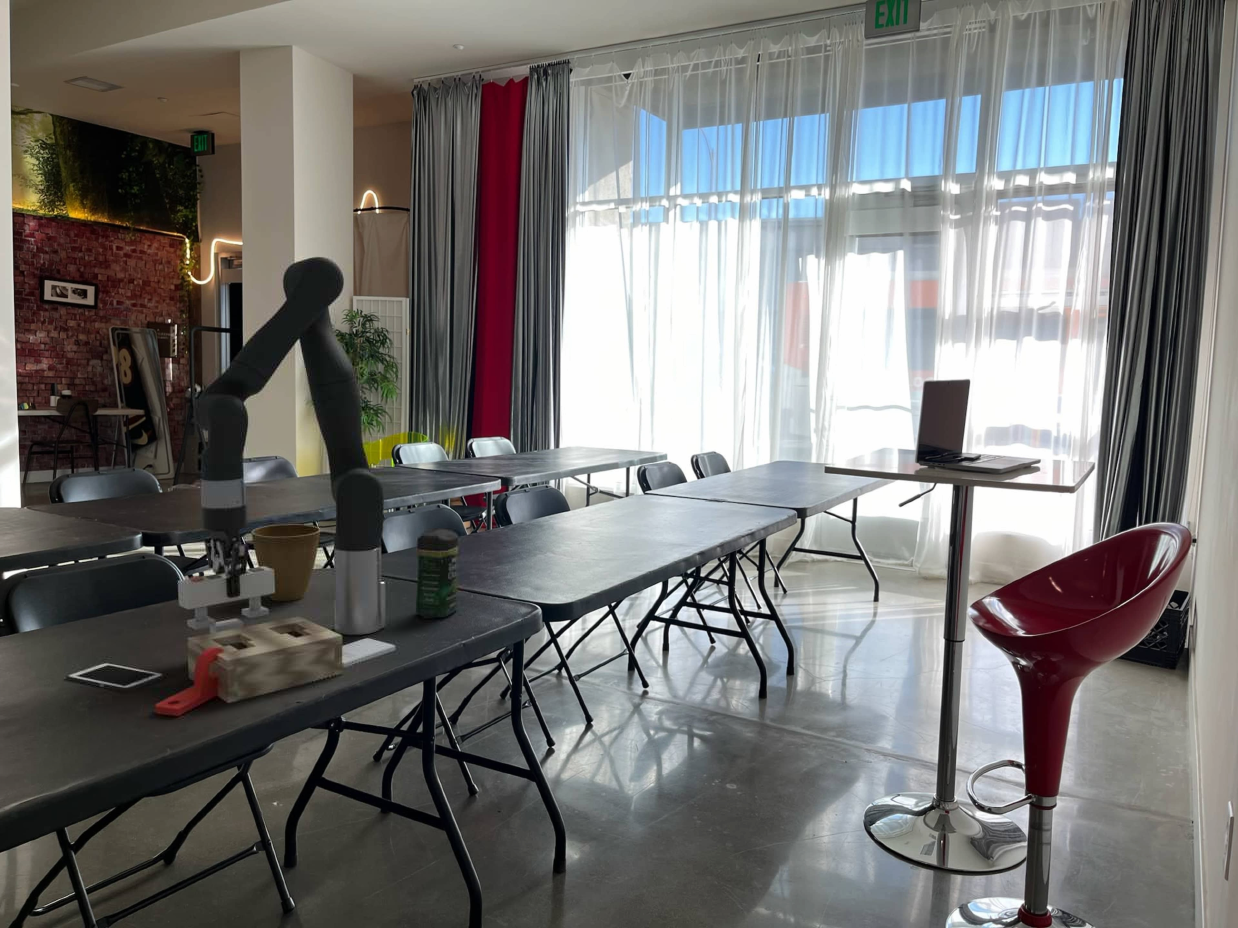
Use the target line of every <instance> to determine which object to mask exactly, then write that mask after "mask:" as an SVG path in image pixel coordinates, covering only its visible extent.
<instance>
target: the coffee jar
mask: <svg viewBox="0 0 1238 928" xmlns="http://www.w3.org/2000/svg"><path fill="white" fill-rule="evenodd" d="M416 552H417V553H416V554H417V586H416V589H417V590H416V600H415V605H416V606H415V612H416V614H417V615H418V616H421V617H423V618H426V619H434V618H445V617H447V616H450V615H452V614H454V613H455V612H456V611H457V610H458V607H459V605H458V602H459V601H458V578H457V577H458V574H457V573H458V572H457V571H458V562H457V561H458V552H459V536H458V534H457V533H456V532H455V530H450V529H440V528H437V530H434V531H431V532H428V533H424V534H421V536H418V538H417V544H416Z"/></svg>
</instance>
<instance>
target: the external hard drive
mask: <svg viewBox="0 0 1238 928" xmlns="http://www.w3.org/2000/svg"><path fill="white" fill-rule="evenodd" d="M394 651H396V645H394V644H391V643H388V642H383V641H381V640H375V639H373V638H368V637H367V638H363V639H359V640H357V641H354V642H350V643H347V644H345V645H344V644H343V645H342V669H344V668H348V667H351V666H354V665H357V664H359V662H360V663H362V661H363V662H366V661H369V660H371V659H374V658H377V657H380V656H383V655H385V654H389V653H391V652H394ZM365 660H366V661H365ZM356 663H357V664H356ZM353 664H354V665H353Z"/></svg>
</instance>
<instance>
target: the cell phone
mask: <svg viewBox="0 0 1238 928" xmlns="http://www.w3.org/2000/svg"><path fill="white" fill-rule="evenodd" d="M65 677H66V680H68V681H72V682H75V683H80V684H86V685H91V686H95V687H102V688H105V689H109V690H114V691H118V692H124V693H125V692H127V693H128V692H133V691H135V690H137V689H139V688H143V687H146V686H149V685H151V684H153V683H156V682H159V681H161V680H164V678H165V675H164V673H162V672H156V671H152V670H147V669H142V668H138V667H137V668H136V667H131V666H127V665H121V664H118V663H117V664H116V663H111V662H103V663H98V664H96V665H93V666H89V667H87V668H86V667H85V668H84V669H83V668H82V669H81V670H78V671H74V672H72V673H69V674H67V675H66V676H65Z"/></svg>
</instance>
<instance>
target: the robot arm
mask: <svg viewBox="0 0 1238 928" xmlns="http://www.w3.org/2000/svg"><path fill="white" fill-rule="evenodd" d="M344 282H345V278H344V275H343V272H342V270H341V268H340V266H339V265H338V264H337V263H336V262H334V260H332V259H330V258H327V257H323V256H315V257H314V256H313V257H309V258H306V259H302V260H299V261H296V262H294V263H292V264H290V265H289V266H288V267H287V268H286V270H285V271H284V274H283V279H282V286H283V292H284V295H285V298H286V300H285V301H284V302H283V304H282V305H281V306H280V307H279V309H278V310H277V311H276V312H275V313H274V314H273V315H272V317H270V318H269V319H268V320H267V321H266V322H265V324H263V325H262V326H261V327H260V328H259V329H258V330H256V332H255V333H253V335H252V336H251V337H249V339H248V340H247V341H246V343H244V345H243V346H242V348H241V349H240V351H239V352H238V353H237V354H236V356H235V357H234V359H232V361H231V363H230V364H229V366H228V367H227V369H226V370H224V372H223V373H221V375H219V376H217V378H216V379H215V380H214V381H213V382H212V383H211V384H210V385H209V386H207V387H206V389H204V391H203V392H202V393H201V394H200V396H199V397H198V398H197V400H196V401H195V404H194V405H193V410H192V416H193V420H194V422H195V424H196V425H197V426H198V427H199V428H200V429H201V430H204V431H206V432H209V435H208V446H207V447H206V448H204V449H203V450H202V452H201V457H200V464H201V465H200V468H201V488H200V499H201V501H200V502H201V520H202V521H201V524H202V529H203V530H204V531H206V532H211V534H210V535H209V536H205V537H204V538H203V542H204V547H205V553H206V558H207V564H208V568H209V569H212V573H213V574H221V573H225V574H226V588H227V597H229V598H233V597H238V596H240V576H241V575H243V574H246V569H247V567H248V559H249V551H250V548H249V545H248V544H242V541H241V536H240V530H243V529H245V528H247V526H248V515H247V514H248V511H247V509H248V508H247V490H246V485H245V478H244V477H245V473H244V471H245V469H244V459H243V457H244V456H243V454H244V450H245V446H246V441H247V436H248V429H249V416H248V410H247V407H246V405H245V402H246V400H247V399H248V398H250V397H251V396H254V395H258V394H259V393H261V391H263V389H264V388H265V386H267V384H268V382H269V381H270V380H271V378H272V377H273V375H274V374H275V372H276V371H277V370H278V368H279V366H280V365H281V363H282V362H283V360H285V358H286V356H287V355H288V354H289V353H290V351H291V350H292V348H293V347H294V346H295V345H296V344H297V342H298V340H299V344H300V349H301V355H302V359H303V363H304V367H305V371H306V377H307V383H308V389H309V393H310V397H311V402H312V405H313V406H312V407H313V408H314V413H315V415H316V417H315V418H316V421H317V424H318V426H319V427H318V428H319V429H320V432H321V436H322V438H323V442H324V445H325V449H326V455H327V461H328V469H329V477H330V479H329V480H330V488H331V489H330V490H331V495H332V499H333V501H334V502H335V507H336V508H335V510H336V511H335V513H336V514H335V515H336V517H335V520H336V521H335V533H334V535H333V564H334V565H333V572H334V573H333V575H334V576H333V577H334V578H333V581H334V582H333V583H334V589H333V590H334V595H333V597H334V621H333V622H334V632H335V633H338V634H340V635H348V636H350V635H351V636H355V635H356V636H359V635H367V634H372V633H375V632H377V631H380V630H381V629H383V628H386V583H385V582H384V581H382V536H383V533H384V507H385V506H384V501H385V500H384V488H383V485H382V483H381V481H380V479H379V478H378V477H377V476H376V475H374V474H373V473H372V471H371V470H372V469H371V468H370V465H369V462H368V458H367V455H366V452H365V447H364V442H363V433H362V432H363V430H362V429H363V413H362V412H363V410H362V400H361V395H360V390H359V384H358V381H357V376H356V371H355V369H354V366H353V365H352V362H351V360H350V358H349V357H348V354H347V353H346V352H345V349H344V348H343V346H342V345H341V343H340V341H339V340H338V338H337V335H336V333H335V331H334V328H333V325H332V320H331V314H330V309H329V307H330V306H331V305H332V304H333V303H334V302H335V301H336V300H337V299H338V298H339V297H340V295H341V294H342V291H343V290H344V285H345V283H344Z"/></svg>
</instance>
